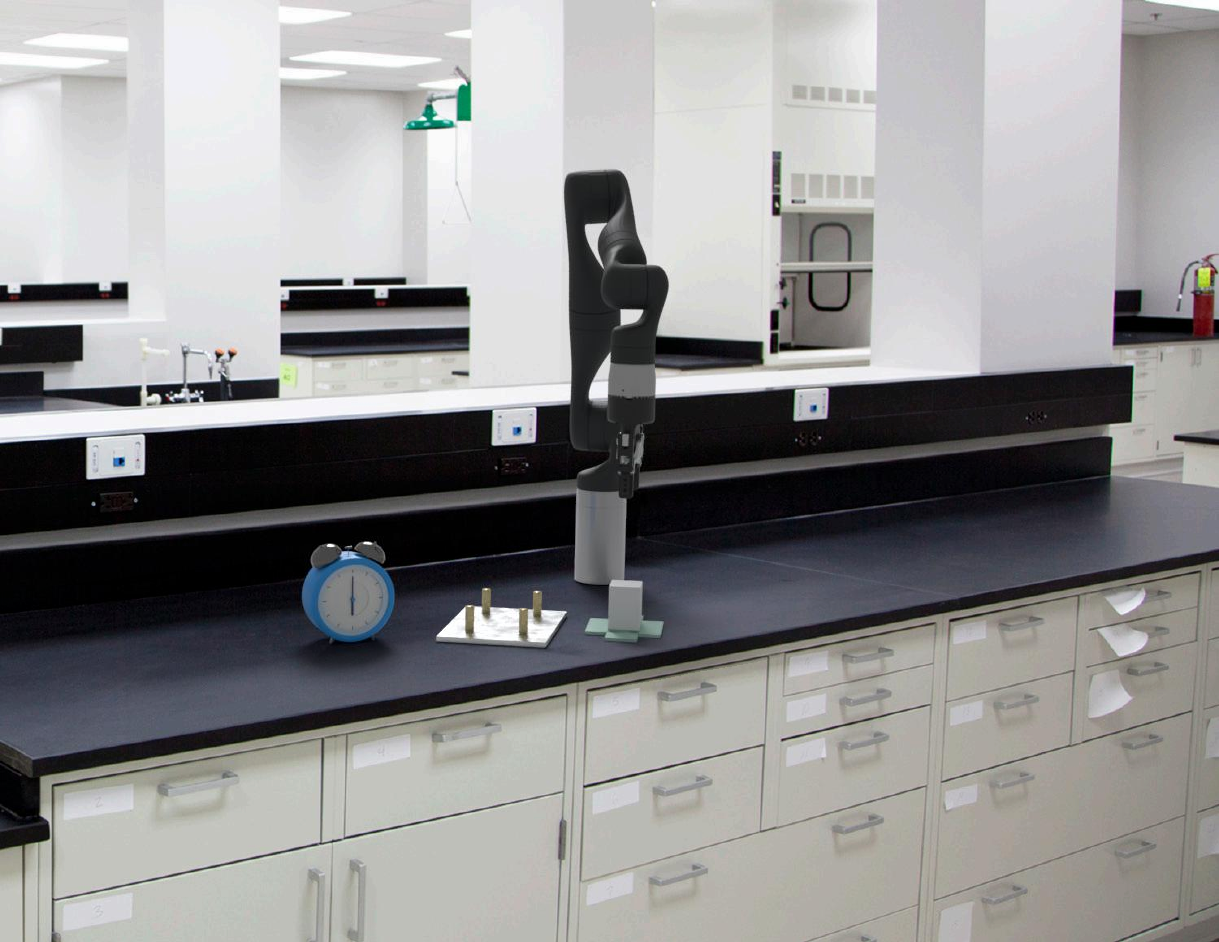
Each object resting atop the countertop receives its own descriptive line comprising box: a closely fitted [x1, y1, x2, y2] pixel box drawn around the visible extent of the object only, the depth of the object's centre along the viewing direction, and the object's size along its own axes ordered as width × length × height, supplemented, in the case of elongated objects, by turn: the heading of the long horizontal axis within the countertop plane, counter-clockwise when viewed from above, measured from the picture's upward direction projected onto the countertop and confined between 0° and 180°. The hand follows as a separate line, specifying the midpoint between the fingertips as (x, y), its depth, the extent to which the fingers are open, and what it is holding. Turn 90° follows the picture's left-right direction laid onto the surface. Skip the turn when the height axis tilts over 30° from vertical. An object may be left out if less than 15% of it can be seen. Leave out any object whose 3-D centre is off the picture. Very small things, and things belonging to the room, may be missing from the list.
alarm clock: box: [301, 541, 396, 645], centre depth 230 cm, size 13×6×15 cm, turn 116°
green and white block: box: [584, 579, 665, 643], centre depth 242 cm, size 16×12×8 cm
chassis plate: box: [435, 587, 568, 649], centre depth 240 cm, size 21×17×5 cm
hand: (628, 493), depth 239 cm, fingers open, 8 cm apart
